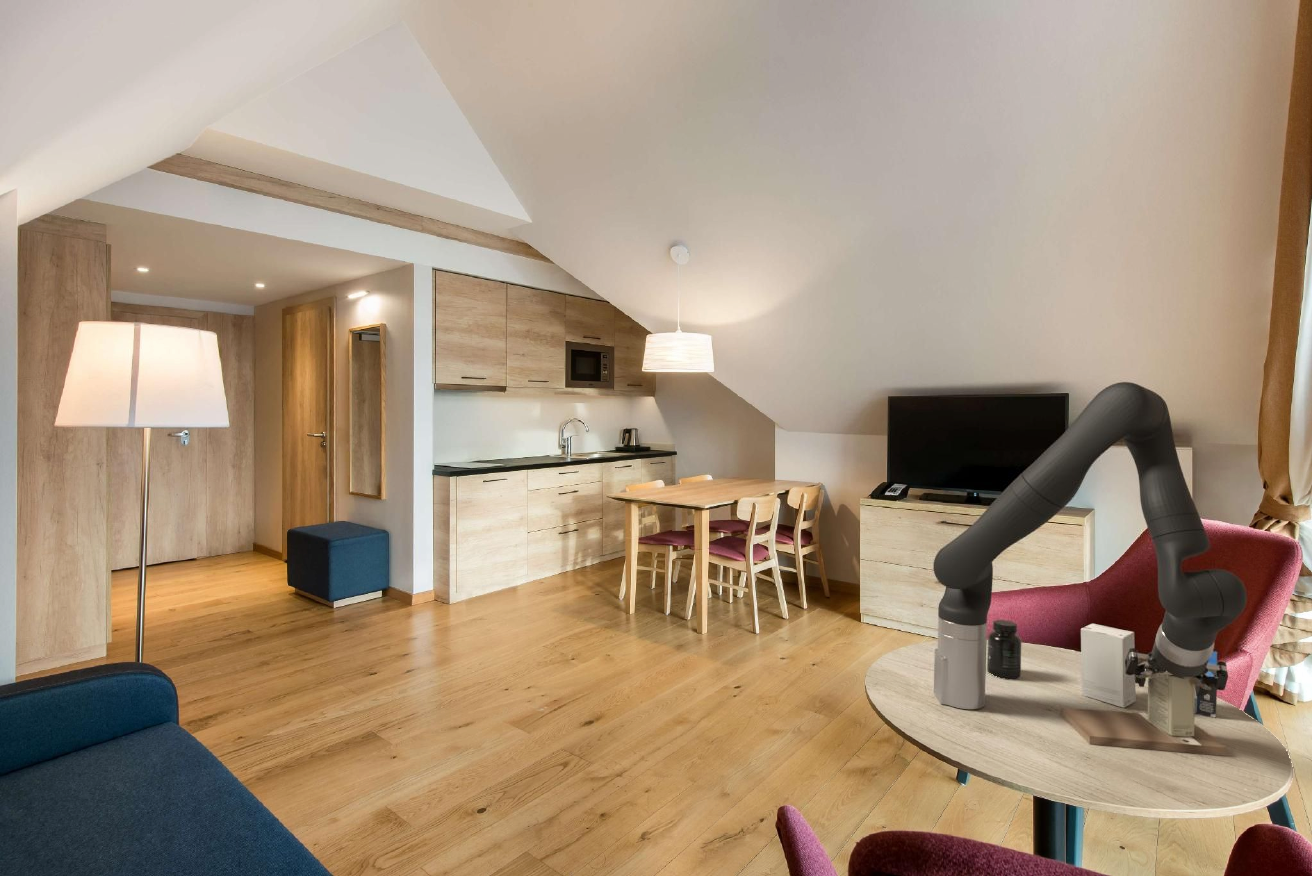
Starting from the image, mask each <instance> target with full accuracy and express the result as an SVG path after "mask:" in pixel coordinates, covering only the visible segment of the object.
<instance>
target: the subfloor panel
mask: <svg viewBox="0 0 1312 876" xmlns="http://www.w3.org/2000/svg"><path fill="white" fill-rule="evenodd" d="M1060 716H1062V718H1063V719H1064V720H1065V721H1066V722H1067V723H1069V725H1070V726H1071V727H1072V728H1073V730H1075V731H1076V732H1077V733H1078V734H1079V735H1080V736H1081V737H1082V738H1083V739H1084V740H1085V741H1086V743H1088V744H1089V745H1095V746H1108V747H1119V748H1131V749H1140V750H1142V749H1143V750H1153V751H1165V752H1175V753H1176V752H1177V753H1187V754H1199V755H1200V754H1201V755H1209V754H1212V755H1211V756H1220V755H1227V756H1228V747H1227V746H1226V745H1224V744H1223V743H1222V742H1220V741H1218V739H1216V738H1215V737H1213V736H1212V735H1210V734H1209V733H1208V732H1206V731H1205V730H1203V729H1202V728H1201V727H1200V726H1198V725H1196V724H1195V723H1194V736H1171V735H1169V734H1168V733H1166V732H1164V731H1163V730H1161V729H1159V728H1158V727H1156V726H1155V725H1153V724H1151V723H1150V722H1148V712H1147V713H1146V712H1130V711H1129V712H1128V711H1117V710H1116V711H1113V710H1101V709H1093V708H1092V709H1090V708H1089V709H1088V708H1080V707H1079V708H1077V707H1076V708H1075V707H1067V706H1066V707H1063V706H1060Z"/></svg>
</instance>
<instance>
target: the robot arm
mask: <svg viewBox="0 0 1312 876" xmlns="http://www.w3.org/2000/svg"><path fill="white" fill-rule="evenodd" d="M1166 402H1167V401H1165V400H1164V399H1163V397H1162V396H1161V395H1160V394H1158V393H1156V392H1154V391H1153V390H1151V389H1149V388H1146V387H1144V386H1142V385H1139V384H1138V383H1134V382H1128V381H1122V382H1121V381H1120V382H1116V383H1113V384H1110V385H1108V386H1106V387H1104V388H1103V389H1102V390H1101V391H1099V392H1098V393H1097V394H1096V395H1095V396H1094V397H1093V399H1092V400H1091V401H1090V402H1089V403H1088V404H1087V405H1086V406H1085V408H1084V409H1083V410H1082V411H1081V412H1080V413H1079V415H1078V416H1077V417H1076V419H1074V421H1073V422H1072V423H1071V424H1070V426H1068V428H1067V429H1066V430H1065V431H1064V433H1062V435H1060V436H1059V438H1057V440H1055V441H1054V442H1053V443H1052V444H1051V445H1050V446H1049V447H1047V449H1046V450H1045V451H1044V452H1043V453H1042V454H1041V455H1039V457H1037V459H1035V461H1034V462H1033V463H1031V464H1030V465H1029V466H1028V467H1027V468H1026V469H1025V470H1023V472H1022V473H1020V474H1019V475H1018V476H1017V478H1015V479H1014V480H1013V481H1012V482H1011V483H1010V484H1009V485H1008V486H1007V487H1006V488H1005V489H1004V490H1003V491H1002V492H1001V493H1000V494H999V496H998V497H997V498H996V499H995V500H994V501H993V502H992V503H991V504H990V505H989V506H988V507H987V509H986V510H985V511H984V512H983V513H982V514H981V516H979V517H978V519H976V520H975V522H974V523H973V524H971V526H969V527H968V528H967V529H965V530H964V531H963V532H962V533H961V534H959V535H958V536H956V537H955V538H954V539H953V540H951V541H949V543H947V544H946V545H945V546H943V547H942V548H940V549H939V551H937V554H936V555H935V557H934V559H933V566H932V567H933V572H934V573H933V574H934V576H935V578H936V580H937V581H938V582H939V583H940V584H941V585H942V586H944V587H945V590H944V593H943V595H942V598H941V600H940V601H939V603H938V607H937V608H938V612H937V613H938V614H937V617H938V618H937V620H938V621H937V648H935V649H934V666H933V667H934V669H933V671H934V672H933V693H934V695H935V696H936V699H937V700H938V702H939V704H940V705H947V706H950V707H952V708H953V707H954V708H958V709H963V710H979V709H982V708H983V707H984V706H985V705H986V683H987V682H986V679H987V677H986V676H987V675H986V674H987V644H988V632H987V631H988V613H989V611H990V608H991V603H992V595H993V594H992V592H993V591H992V590H993V576H994V575H993V574H994V566H993V562H994V561H995V560H996V559H997V558H998V556H1000V555H1001V554H1002V553H1003V552H1005V550H1006V549H1008V548H1009V547H1011V546H1013V545H1014V544H1016V543H1018V542H1019V541H1020V540H1023V539H1024V538H1026V537H1028V535H1031V534H1032V533H1034V532H1035V531H1037V530H1038V529H1039V528H1040V527H1042V526H1043V525H1045V524H1046V523H1047V522H1049V521H1050V520H1051V519H1052V518H1053V517H1055V516H1056V515H1057V514H1058V513H1059V512H1060V511H1061V510H1062V509H1063V508H1065V507H1066V506H1067V505H1068V504H1069V503H1070V502H1071V501H1072V500H1073V499H1074V497H1075V496H1076V495H1077V493H1078V491H1079V489H1080V487H1082V486H1081V485H1082V484H1083V482H1084V479H1085V477H1086V475H1087V473H1088V472H1089V470H1090V468H1091V467H1092V465H1093V464H1094V463H1095V462H1096V461H1097V459H1099V458H1100V457H1101V456H1102V455H1103V454H1104V453H1105V452H1107V450H1109V449H1110V448H1111V447H1112V446H1113V445H1115V444H1116V443H1117V442H1119V441H1120V440H1122V441H1123V442H1124V444H1125V446H1126V447H1127V449H1128V451H1129V453H1130V455H1131V456H1132V459H1133V463H1134V464H1135V467H1136V472H1137V474H1138V483H1139V484H1138V485H1139V500H1140V505H1141V506H1140V507H1141V510H1142V514H1143V518H1144V521H1145V523H1146V526H1147V527H1146V528H1147V529H1148V533H1149V535H1150V537H1151V540H1152V543H1153V545H1154V548H1155V549H1154V550H1155V554H1156V560H1157V561H1156V562H1157V591H1158V592H1157V593H1158V598H1159V601H1160V604H1161V606H1162V607H1163V608H1164V610H1165V612H1164V615H1163V619H1162V622H1161V624H1160V625H1159V627H1158V630H1157V633H1156V636H1155V640H1154V643H1153V646H1152V651H1150V652H1148V653H1147V654H1145V653H1140V652H1138V651H1139V650H1138V649H1137V648H1130V649H1129V652H1128V654H1127V657H1126V659H1125V668H1126V670H1125V672H1126V674H1127V675H1133V674H1135V675H1134V677H1135V685H1136V684H1137V685H1138V687H1140V688H1144V687H1145V684H1146V681H1147V679H1148V677H1152V678H1157V677H1161V676H1172V677H1178V678H1182V679H1188V680H1189V681H1191V682H1192V683H1193V684H1194V685H1195V691H1196V696H1197V697H1202V695H1206V694H1207V693H1208V690H1210V689H1211V687H1216V689H1217V691H1224V690H1225V689H1226V686H1227V682H1228V679H1229V673H1228V668H1227V667H1228V666H1227V663H1226V662H1225V661H1217V665H1212V664H1208V661H1209V659H1210V656H1211V655H1212V654H1213V651H1214V649H1215V641H1216V638H1217V636H1218V633H1219V632H1220V631H1222V630H1224V629H1226V627H1228V626H1229V625H1231V624H1232V623H1233V622H1234V621H1236V619H1237V618H1239V617H1240V616H1241V614H1242V613H1243V611H1244V610H1245V608H1246V606H1247V602H1248V601H1247V600H1248V596H1247V594H1248V593H1247V590H1246V587H1245V585H1244V583H1243V581H1242V580H1241V579H1240V578H1239V577H1238V576H1237V575H1236V574H1234V573H1233V572H1231V571H1229V570H1226V569H1222V568H1208V569H1200V570H1199V569H1198V570H1190V571H1183V570H1182V569H1183V568H1182V564H1183V561H1184V560H1186V559H1190V558H1193V557H1196V556H1200V555H1202V554H1204V553H1206V552H1208V551H1209V549H1210V547H1211V543H1210V539H1209V536H1208V533H1207V531H1206V529H1205V526H1204V524H1203V521H1202V520H1201V516H1200V514H1199V512H1198V510H1197V506H1196V505H1195V502H1194V499H1193V497H1192V495H1191V493H1190V490H1189V486H1188V485H1187V482H1186V479H1185V476H1184V473H1183V469H1182V466H1181V462H1180V459H1179V455H1178V452H1177V447H1176V443H1175V438H1174V432H1173V428H1172V426H1173V425H1172V420H1171V416H1170V412H1169V407H1168V405H1167V403H1166ZM1155 669H1156V671H1155ZM1208 671H1209V672H1211V673H1212V674H1213V675H1214V677H1209V675H1208V674H1206V673H1207V672H1208Z"/></svg>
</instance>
